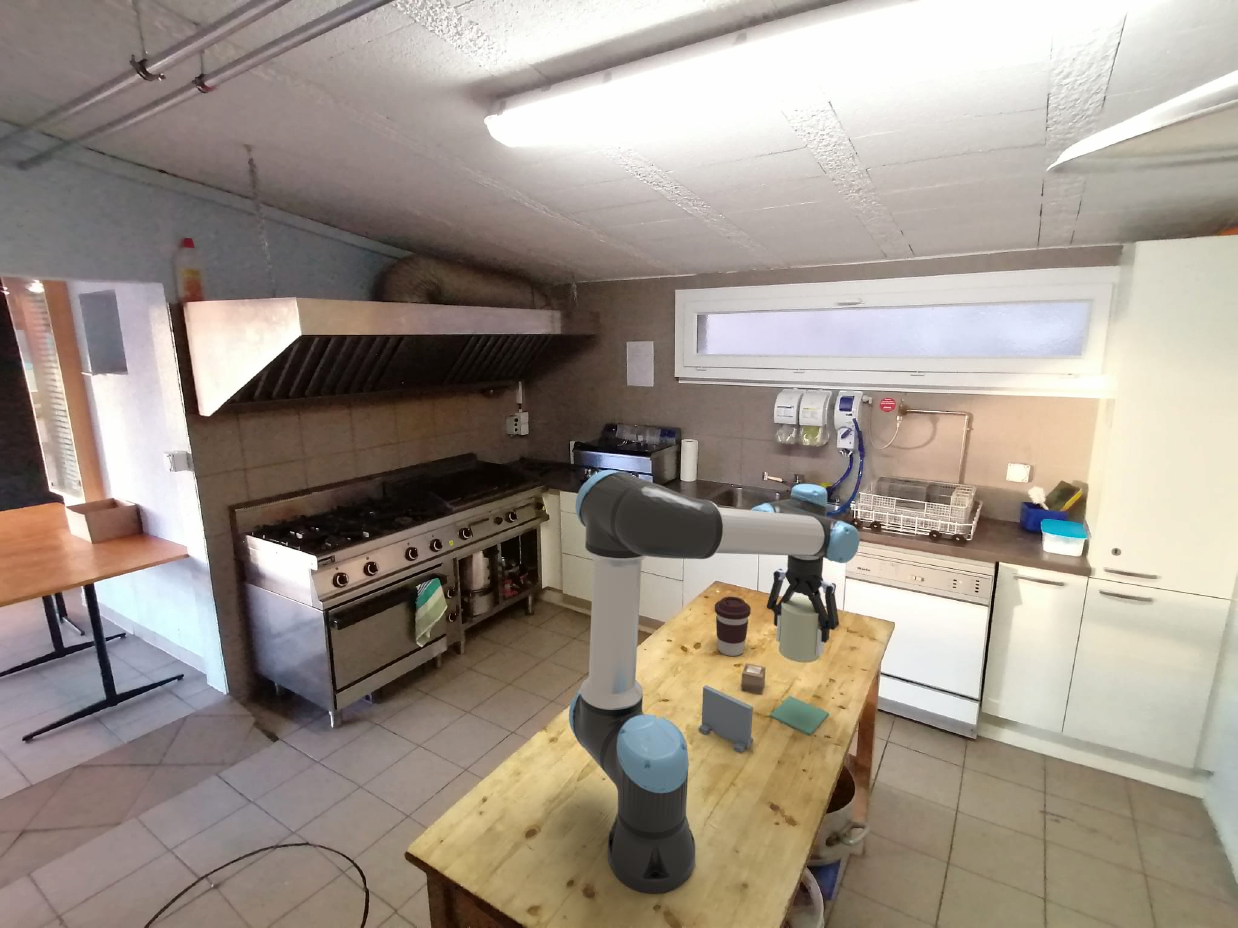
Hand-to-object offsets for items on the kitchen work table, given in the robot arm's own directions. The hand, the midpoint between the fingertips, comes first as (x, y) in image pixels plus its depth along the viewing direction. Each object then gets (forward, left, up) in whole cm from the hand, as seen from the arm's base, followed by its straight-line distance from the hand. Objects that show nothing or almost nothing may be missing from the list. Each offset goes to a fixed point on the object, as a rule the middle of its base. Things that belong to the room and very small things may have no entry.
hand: (799, 646), depth 136 cm
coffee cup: (+16, +27, -18) cm, 36 cm away
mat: (+1, -1, -18) cm, 18 cm away
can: (0, 0, -2) cm, 2 cm away
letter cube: (+4, +13, -18) cm, 23 cm away
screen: (-17, +8, -18) cm, 26 cm away
